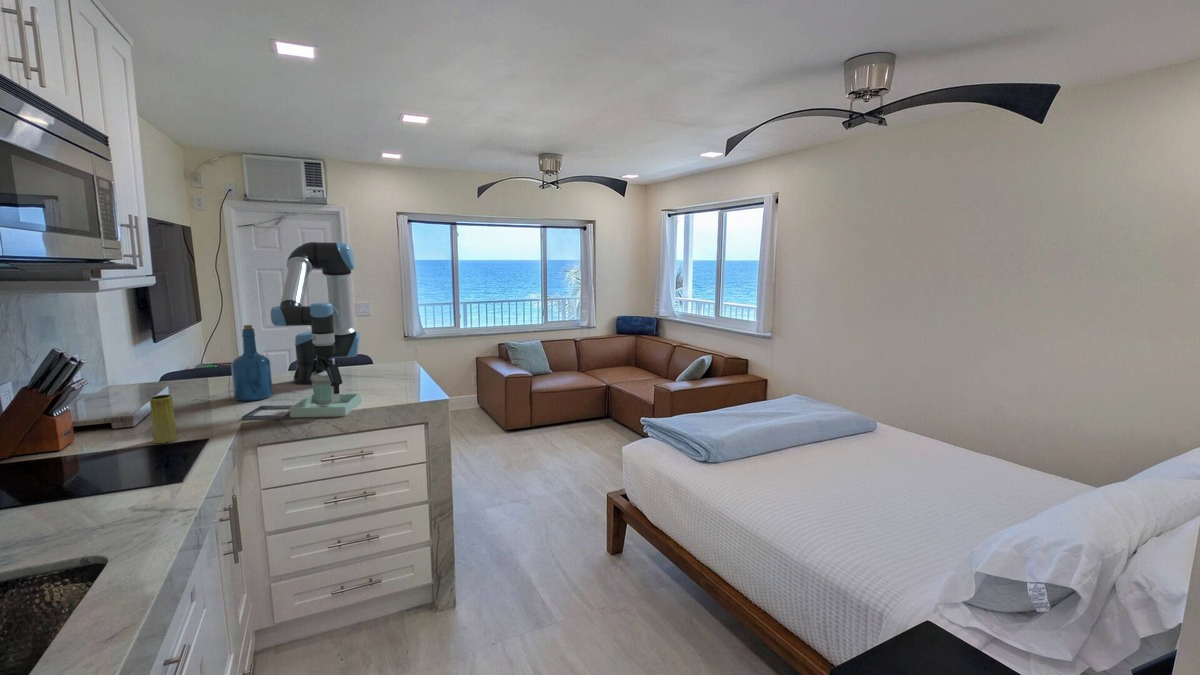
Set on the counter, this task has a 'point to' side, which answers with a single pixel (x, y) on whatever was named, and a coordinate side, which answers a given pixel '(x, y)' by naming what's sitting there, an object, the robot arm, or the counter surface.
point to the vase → (163, 419)
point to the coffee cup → (321, 388)
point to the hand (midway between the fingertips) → (327, 398)
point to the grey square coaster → (249, 415)
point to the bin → (325, 406)
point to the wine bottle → (251, 371)
